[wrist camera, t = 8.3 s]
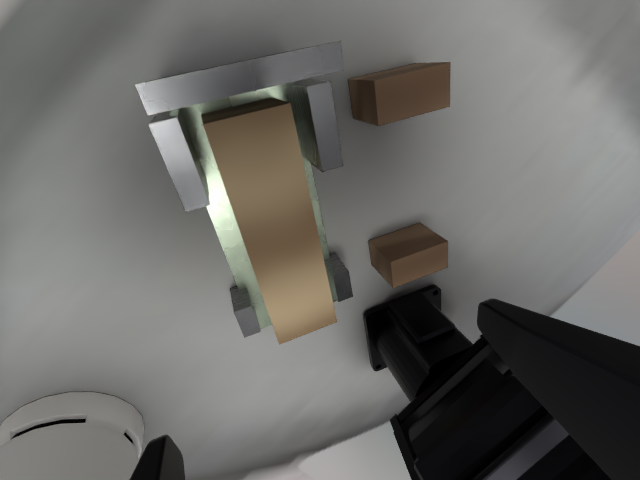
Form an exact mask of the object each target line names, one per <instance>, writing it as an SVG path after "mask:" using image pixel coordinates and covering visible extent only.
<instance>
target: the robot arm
mask: <svg viewBox="0 0 640 480" xmlns="http://www.w3.org/2000/svg"><path fill="white" fill-rule="evenodd" d="M370 316H371V317H370ZM364 323H365V329H366V336H367V342H368V349H369V355H370V362H371V366H372V368H373V370H374V371H379V370H382V369H384V368H386V367H388V368H389V370H390V372H391V373H392V375H393V376H394V378H395V379H396V381H397V382H398V384H399V385H400V387H401V388H402V390H403V391H404V393H405V394H406V396H407V397H408V399H409V400H410V403H409V404H408V405H407V406H406V407H405V408H404V409H403V410H402V411H401V412H400V413H399V414H395V415H394V416H393V417H392V418H391V419H390V422H391V425H392V427H393V430H394V435H395V438H396V440H397V443H398V446H399V448H400V451H401V453H402V456H403V459H404V461H405V464H406V466H407V469H408V472H409V474H410V477H411V479H412V480H640V346H637V345H634V344H631V343H628V342H625V341H621V340H619V339H616V338H613V337H610V336H607V335H604V334H601V333H597V332H594V331H591V330H588V329H585V328H582V327H579V326H576V325H573V324H570V323H567V322H564V321H561V320H558V319H555V318H552V317H549V316H545V315H542V314H539V313H536V312H533V311H530V310H527V309H524V308H521V307H518V306H515V305H512V304H509V303H506V302H503V301H500V300H497V299H488V300H486V301H483V302H481V303H480V304H479V306H478V316H477V325H478V328H479V330H480V331H481V333H482V335H480V337H481V338H480V339H478V340H477V341H476V342H475V343H474V344H472V343H471V342H470V341H469V340H468V339H467V338H466V337H465V336H464V335H463V334H462V333H461V332H460V331H459V330H458V329H457V328H456V327H455V325H454V324H453V323H452V322H451V321H450V320H449V319H448V318H447V317H446V316H445V315H444V314H443V313H442V312H441V289H440V288H439V287H438V286H437V285H431V286H429V287H426V288H424V289H421V290H418V291H416V292H413V293H411V294H408V295H406V296H403V297H401V298H398V299H395V300H393V301H390V302H388V303H385V304H383V305H380V306H378V307H375V308H372V309H370V310H368V311H366V312H365V314H364ZM130 480H185V473H184V463H183V457H182V454H181V451H180V450H179V449H178V447H177V446H176V444H175V443H174V442H173V440H172V439H171V438H170V436H169V435H163V436H161V437H158V438H156V439H153V440H152V441H150V442H149V443H148V445H147V446H146V448H145V450H144V452H143V454H142V456H141V458H140V460H139V462H138V464H137V466H136V468H135V470H134V472H133V474H132V476H131V478H130Z"/></svg>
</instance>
